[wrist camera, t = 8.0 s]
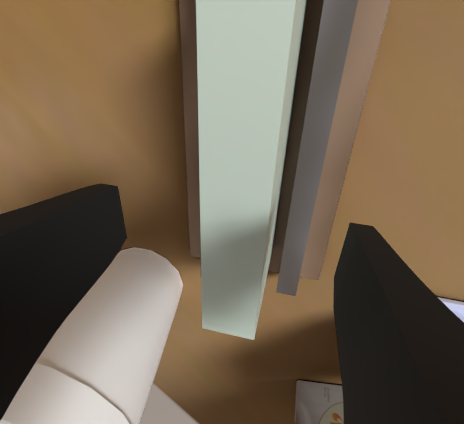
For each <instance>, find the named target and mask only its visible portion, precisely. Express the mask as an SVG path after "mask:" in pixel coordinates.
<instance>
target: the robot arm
mask: <svg viewBox="0 0 464 424" xmlns="http://www.w3.org/2000/svg"><path fill="white" fill-rule="evenodd" d="M126 238H127V236H126V230H125V224H124V219H123V213H122V207H121V202H120V196H119V190H118V186H112V185H106V184H97V185H92V186H88V187H85V188H81V189H78V190H75V191H72V192H69V193H66V194H63V195H60V196H57V197H54V198H50V199H47V200H44V201H41V202H38V203H35V204H32V205H29V206H26V207H23V208H20V209H16V210H13V211H10V212H7V213H3V214H0V421H1V419H2V417H3V416H4V414H5V412H6V410H7V409H8V407H9V405H10V404H11V402H12V400H13V398H14V397H15V395H16V393H17V391H18V390H19V388H20V387H21V385H22V383H23V382H24V380H25V379H26V377H27V375H28V374H29V372H30V371H31V369H32V368H33V366H34V364H35V363H36V361H37V360H38V358H39V356H40V355H41V354H42V352H43V351H44V349H45V348H46V346H47V345H48V343H49V342H50V340H51V339H52V337H53V336H54V334H55V333H56V331H57V330H58V328H59V327H60V326H61V324H62V323H63V322H64V321H65V319H66V318H67V317H68V315H69V314H70V313H71V312H72V311H73V309H74V308H75V307H76V306H77V304H78V303H79V302H80V301H81V300H82V298H83V297H84V296H85V295H86V294H87V292H88V291H89V290H90V289H91V288H92V286H93V285H94V284H95V283H96V282H97V280H98V279H99V278H100V277H101V275H102V274H103V273H104V272H105V270H106V269H107V268H108V267H109V265H110V264H111V263H112V261H113V260H114V258H115V257H116V255H117V254H118V252H119V250H120V249H121V247H122V245H123V243H124V242H125V240H126ZM334 317H335V326H336V335H337V344H338V353H339V362H340V371H341V379H342V391H343V413H344V424H464V302H460V301H455V300H450V299H444V298H439V297H437V296H436V295H435V294H434V293H433V292H432V291H431V290H430V289H429V288H428V287H427V286H426V285H425V284H424V283H423V282H422V281H421V280H420V279H419V278H418V277H417V276H416V275H415V274H414V272H413V271H412V270H411V269H410V268H409V267H408V266H407V265H406V264H405V262H404V261H403V260H402V259H401V258H400V257H399V256H398V254H397V253H396V252H395V251H394V250H393V249H392V248H391V246H390V245H389V244H388V243H387V242H386V240H385V239H384V238H383V237H382V236H381V235H380V233H379V232H378V231H377V230H376V229H375V228H374V227H373V226H368V225H362V224H355V223H350V224H349V228H348V231H347V235H346V238H345V241H344V245H343V248H342V252H341V255H340V258H339V262H338V265H337V269H336V272H335V275H334Z"/></svg>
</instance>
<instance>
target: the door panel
mask: <svg viewBox="0 0 464 424" xmlns="http://www.w3.org/2000/svg"><path fill="white" fill-rule="evenodd" d="M306 4H307V0H196V26H197V78H198V129H199V181H200V233H201V285H202V328H204V329H209V330H213V331H217V332H221V333H226V334H230V335H234V336H239V337H243V338H247V339H252V340H254V338H255V333H256V328H257V323H258V318H259V313H260V308H261V303H262V298H263V293H264V288H265V283H266V278H267V273H268V268H269V263H270V259H271V254H272V249H273V242H274V235H275V227H276V220H277V213H278V206H279V199H280V191H281V184H282V177H283V170H284V163H285V155H286V148H287V141H288V134H289V127H290V120H291V112H292V105H293V98H294V91H295V84H296V76H297V69H298V62H299V55H300V48H301V40H302V33H303V26H304V19H305V12H306Z"/></svg>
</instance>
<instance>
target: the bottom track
mask: <svg viewBox="0 0 464 424" xmlns="http://www.w3.org/2000/svg"><path fill="white" fill-rule="evenodd" d="M390 1H391V0H307V4H306V12H305V19H304V26H303V33H302V40H301V48H300V55H299V62H298V69H297V76H296V84H295V91H294V98H293V105H292V112H291V120H290V127H289V134H288V141H287V148H286V155H285V163H284V170H283V177H282V184H281V191H280V199H279V206H278V213H277V220H276V227H275V235H274V242H273V249H272V254H271V259H270V263H269V268H268V271H271V272H277V273H279V278H278V285H277V291H276V292H278V293H283V294H288V295H293V296H296V291H297V286H298V282H299V277H303V278H308V279H313V280H319V276H320V272H321V268H322V264H323V260H324V257H325V253H326V249H327V245H328V241H329V237H330V233H331V229H332V226H333V222H334V218H335V214H336V210H337V206H338V202H339V198H340V195H341V191H342V187H343V183H344V179H345V175H346V171H347V167H348V164H349V160H350V156H351V152H352V148H353V144H354V140H355V137H356V133H357V129H358V125H359V121H360V117H361V113H362V109H363V106H364V102H365V98H366V94H367V90H368V86H369V82H370V78H371V75H372V71H373V67H374V63H375V59H376V55H377V51H378V48H379V44H380V40H381V36H382V32H383V28H384V24H385V20H386V17H387V13H388V9H389V5H390ZM179 10H180V33H181V56H182V79H183V102H184V125H185V148H186V171H187V194H188V217H189V240H190V256H193V257H198V258H201V233H200V181H199V129H198V78H197V26H196V0H179Z"/></svg>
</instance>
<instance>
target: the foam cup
mask: <svg viewBox="0 0 464 424" xmlns="http://www.w3.org/2000/svg"><path fill="white" fill-rule="evenodd" d="M182 288H183V283H182V280H181V277H180V274H179V272H178V271H177V269H176V268H175V267H174V266H173V265H172V264H171V263H170V262H169V261H168V260H167V259H166V258H164V257H162V256H161V255H159V254H157V253H155V252H153V251H152V250H147V249H142V248H136V247H133V248H129V249H125V250H121V251H120V252H119V253H118V254H117V255H116V257H115V258H114V260H113V261H112V263H111V264H110V265H109V267H108V268H107V269H106V270H105V272H104V273H103V274H102V275H101V277H100V278H99V279H98V280H97V282H96V283H95V284H94V285H93V286H92V288H91V289H90V290H89V291H88V292H87V294H86V295H85V296H84V297H83V298H82V300H81V301H80V302H79V303H78V304H77V306H76V307H75V308H74V309H73V311H72V312H71V313H70V314H69V315H68V317H67V318H66V319H65V321H64V322H63V323H62V324H61V326H60V327H59V328H58V330H57V331H56V333H55V334H54V336H53V337H52V339H51V340H50V342H49V343H48V345H47V346H46V348H45V349H44V351H43V352H42V354H41V355H40V356H39V358H38V360H37V361H36V363H35V364H34V366H33V368H32V369H31V371H30V372H29V374H28V375H27V377H26V379H25V380H24V382H23V383H22V385H21V387H20V388H19V390H18V391H17V393H16V395H15V397H14V398H13V400H12V402H11V404H10V405H9V407H8V409H7V410H6V412H5V414H4V416H3V417H2V419H1V421H0V424H140V421H141V418H142V415H143V412H144V409H145V406H146V403H147V399H148V396H149V393H150V390H151V387H152V384H153V381H154V378H155V375H156V372H157V368H158V365H159V362H160V359H161V356H162V353H163V350H164V347H165V344H166V341H167V337H168V334H169V331H170V328H171V325H172V322H173V319H174V316H175V313H176V310H177V306H178V303H179V299H180V296H181V292H182Z"/></svg>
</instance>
